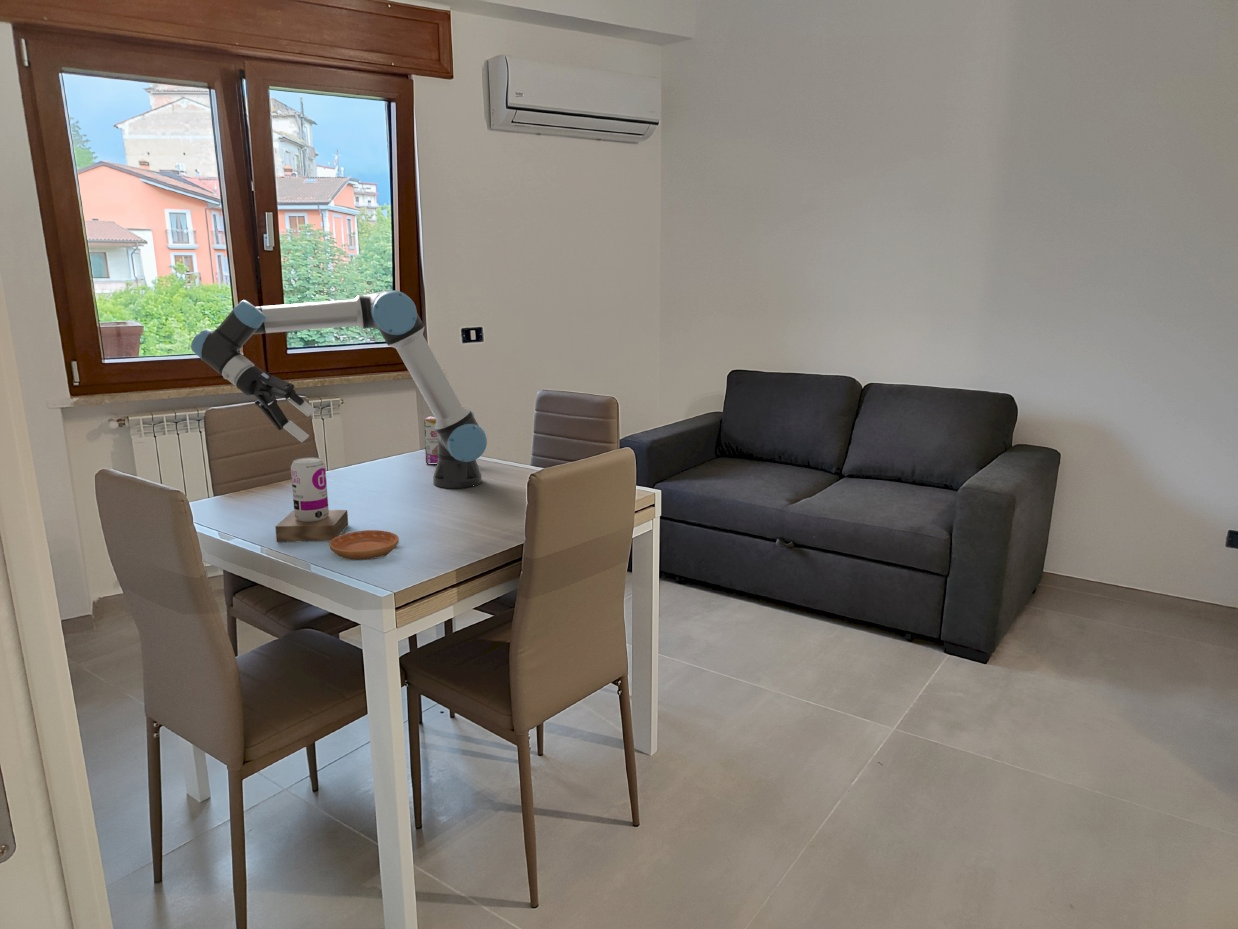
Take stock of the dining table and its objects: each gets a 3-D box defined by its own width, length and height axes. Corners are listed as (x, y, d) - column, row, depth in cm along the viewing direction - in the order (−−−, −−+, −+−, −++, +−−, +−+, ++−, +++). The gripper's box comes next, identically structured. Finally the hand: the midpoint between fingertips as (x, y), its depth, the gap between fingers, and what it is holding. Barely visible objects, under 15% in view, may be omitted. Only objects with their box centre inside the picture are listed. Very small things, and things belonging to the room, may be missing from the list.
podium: (348, 524, 217) (347, 509, 216) (334, 540, 204) (333, 525, 203) (293, 525, 216) (292, 510, 215) (276, 541, 202) (275, 526, 202)
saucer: (408, 554, 195) (408, 542, 194) (340, 567, 186) (339, 554, 185) (386, 537, 207) (386, 526, 207) (321, 548, 199) (320, 536, 198)
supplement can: (335, 515, 211) (331, 458, 208) (314, 523, 204) (309, 465, 201) (309, 512, 214) (305, 455, 211) (287, 520, 206) (282, 462, 203)
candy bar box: (425, 465, 287) (423, 418, 283) (430, 461, 291) (428, 416, 288) (456, 465, 286) (454, 419, 282) (460, 462, 290) (459, 417, 287)
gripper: (232, 408, 225) (293, 457, 225) (237, 356, 205) (304, 410, 206) (252, 393, 229) (312, 441, 230) (259, 340, 210) (325, 393, 211)
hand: (308, 426), depth 218 cm, fingers open, 13 cm apart
